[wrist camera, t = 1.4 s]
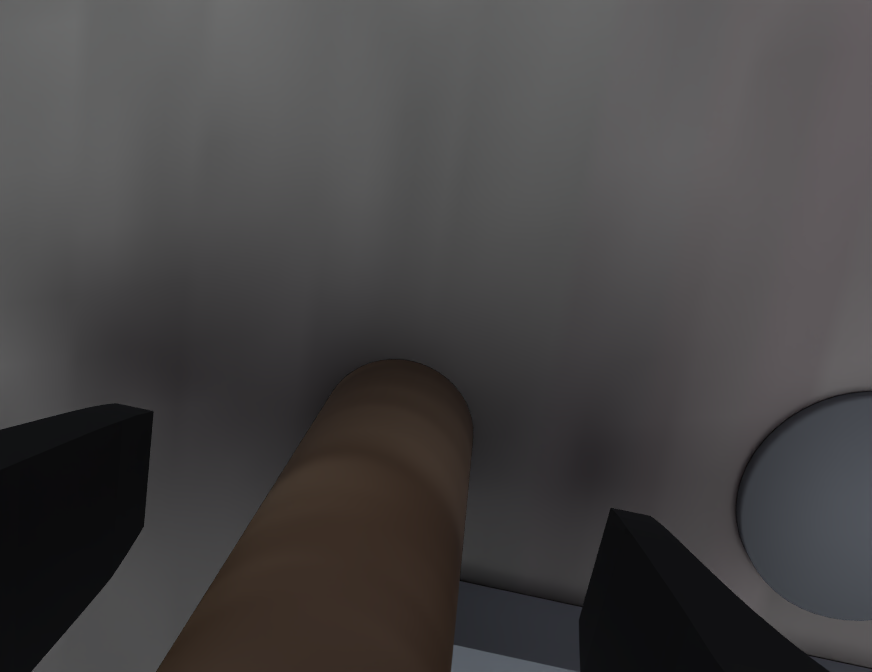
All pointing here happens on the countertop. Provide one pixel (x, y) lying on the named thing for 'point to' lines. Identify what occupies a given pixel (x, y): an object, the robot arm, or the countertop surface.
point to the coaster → (814, 508)
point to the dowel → (350, 540)
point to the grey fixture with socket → (527, 634)
